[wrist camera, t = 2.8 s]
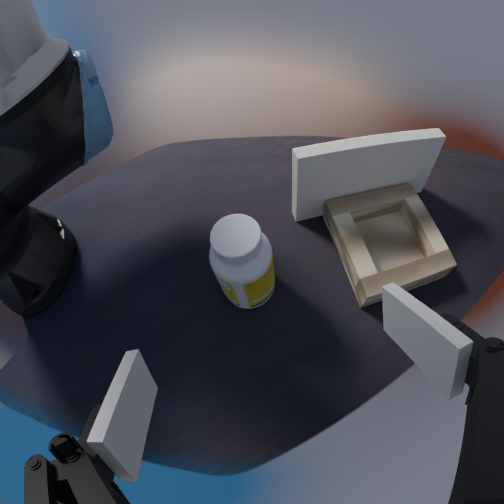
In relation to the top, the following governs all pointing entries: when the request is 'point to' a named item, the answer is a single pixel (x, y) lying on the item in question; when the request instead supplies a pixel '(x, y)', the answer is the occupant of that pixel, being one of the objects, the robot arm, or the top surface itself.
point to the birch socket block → (387, 241)
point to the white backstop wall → (360, 167)
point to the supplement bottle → (242, 261)
